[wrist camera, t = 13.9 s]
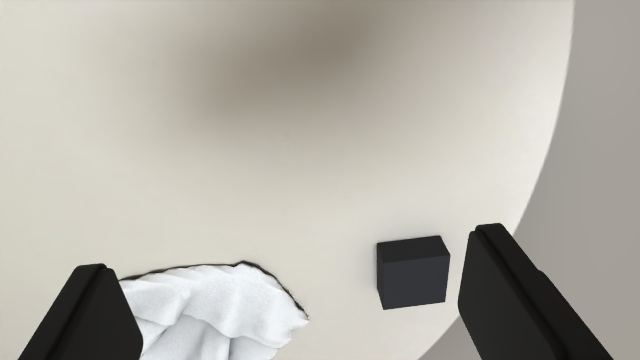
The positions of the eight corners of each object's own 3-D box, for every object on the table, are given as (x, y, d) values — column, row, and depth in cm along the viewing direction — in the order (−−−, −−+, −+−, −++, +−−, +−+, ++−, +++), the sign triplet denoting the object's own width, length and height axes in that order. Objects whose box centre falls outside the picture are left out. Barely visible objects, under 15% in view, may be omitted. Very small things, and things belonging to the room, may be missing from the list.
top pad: (376, 243, 34) (383, 263, 32) (439, 235, 34) (450, 254, 32) (377, 288, 37) (383, 310, 35) (435, 281, 37) (445, 302, 35)
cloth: (337, 307, 38) (341, 328, 36) (210, 417, 45) (207, 440, 43) (135, 198, 30) (124, 217, 28) (21, 354, 37) (6, 378, 35)
